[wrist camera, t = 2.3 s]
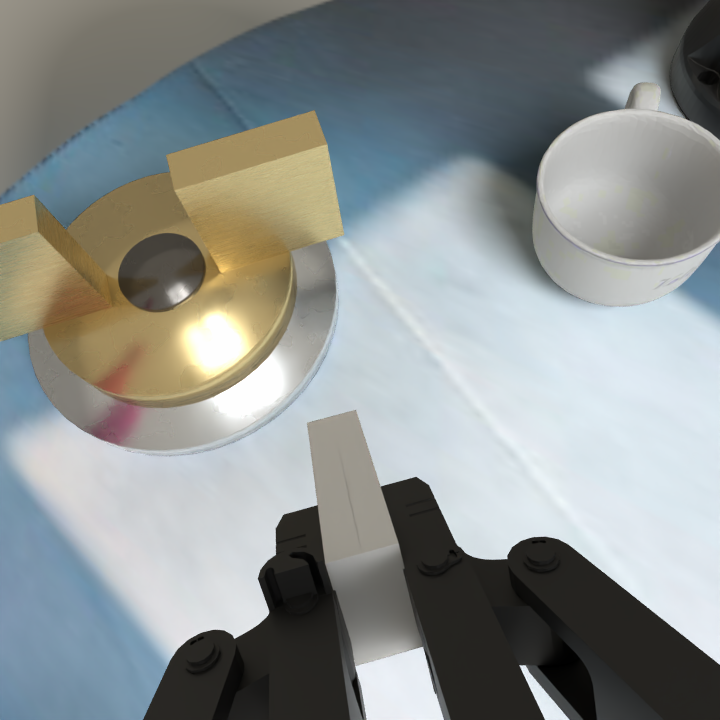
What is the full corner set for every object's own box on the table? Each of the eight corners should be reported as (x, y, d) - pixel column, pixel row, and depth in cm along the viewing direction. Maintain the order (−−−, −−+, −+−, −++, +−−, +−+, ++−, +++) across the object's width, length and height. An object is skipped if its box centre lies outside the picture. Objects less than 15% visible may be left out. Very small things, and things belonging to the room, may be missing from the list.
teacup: (658, 352, 38) (716, 289, 31) (494, 291, 41) (511, 220, 33) (714, 184, 43) (777, 94, 35) (563, 139, 45) (592, 47, 38)
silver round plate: (160, 147, 48) (151, 132, 47) (393, 249, 43) (393, 236, 41) (-21, 365, 42) (-38, 356, 40) (225, 517, 36) (217, 513, 35)
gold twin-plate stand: (158, 149, 45) (88, 23, 36) (360, 237, 41) (343, 121, 31) (-9, 350, 40) (-145, 266, 30) (203, 478, 35) (123, 427, 26)
